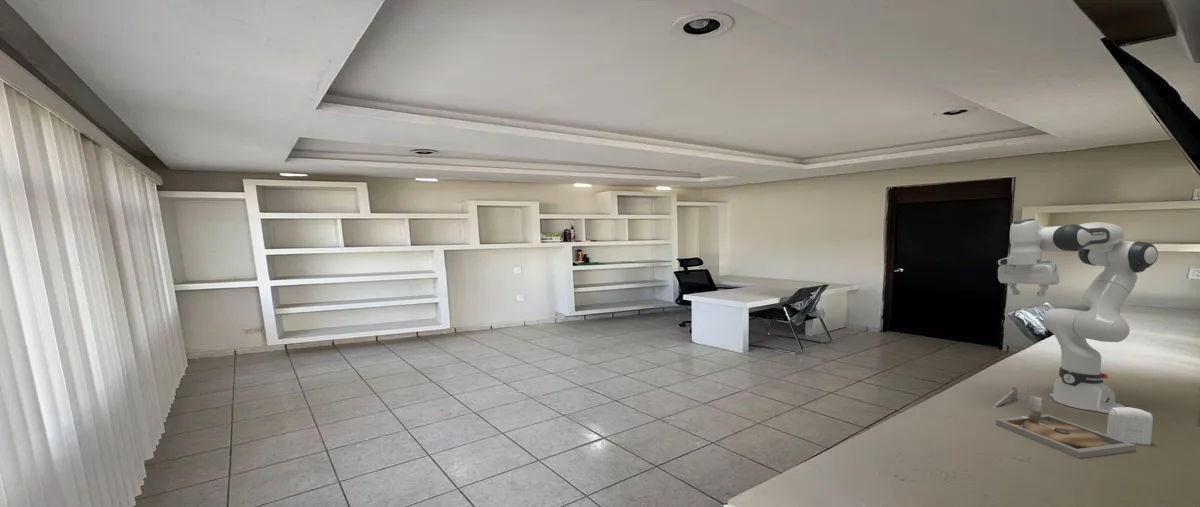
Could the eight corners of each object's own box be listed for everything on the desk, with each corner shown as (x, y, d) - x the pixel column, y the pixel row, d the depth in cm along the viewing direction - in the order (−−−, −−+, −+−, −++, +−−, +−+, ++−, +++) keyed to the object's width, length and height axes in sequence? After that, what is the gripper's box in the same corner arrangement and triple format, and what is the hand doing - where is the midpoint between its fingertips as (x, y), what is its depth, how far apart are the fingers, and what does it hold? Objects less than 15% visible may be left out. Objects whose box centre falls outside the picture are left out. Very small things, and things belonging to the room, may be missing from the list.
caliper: (1013, 399, 188) (1014, 385, 188) (1017, 400, 187) (1018, 386, 187) (991, 408, 178) (992, 393, 178) (994, 409, 177) (995, 394, 177)
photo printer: (1142, 442, 150) (1145, 407, 149) (1153, 448, 146) (1156, 412, 145) (1103, 438, 153) (1105, 403, 152) (1113, 444, 149) (1115, 408, 148)
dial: (1119, 447, 144) (1121, 415, 143) (1075, 453, 140) (1077, 420, 139) (1049, 422, 162) (1051, 394, 162) (1008, 426, 158) (1010, 397, 158)
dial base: (1046, 422, 165) (1046, 413, 165) (1135, 454, 142) (1136, 444, 142) (995, 427, 160) (995, 418, 160) (1078, 462, 137) (1079, 451, 137)
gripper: (1063, 259, 163) (1065, 297, 162) (1007, 260, 183) (1009, 293, 183) (1048, 260, 162) (1050, 297, 162) (993, 260, 182) (995, 294, 182)
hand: (1028, 295), depth 172 cm, fingers open, 8 cm apart
